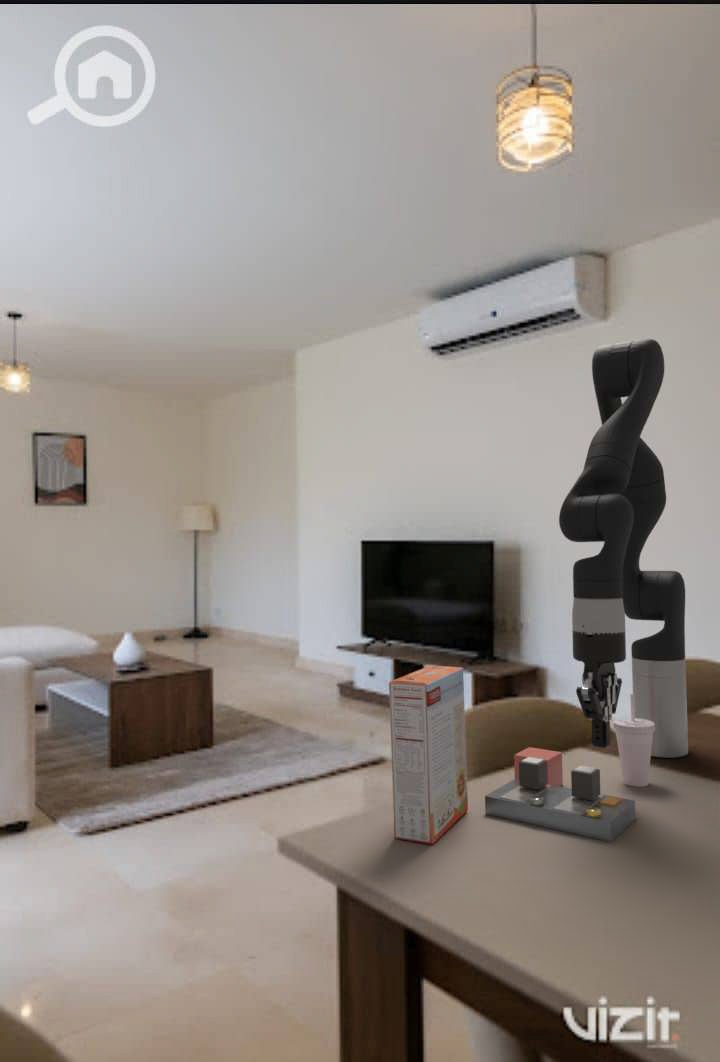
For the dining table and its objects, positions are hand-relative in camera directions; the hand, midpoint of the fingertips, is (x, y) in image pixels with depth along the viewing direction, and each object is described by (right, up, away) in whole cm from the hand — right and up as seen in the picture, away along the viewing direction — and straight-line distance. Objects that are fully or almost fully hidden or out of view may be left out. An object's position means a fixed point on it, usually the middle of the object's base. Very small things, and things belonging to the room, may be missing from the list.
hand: (601, 745), depth 110 cm
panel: (-8, -8, -5) cm, 12 cm away
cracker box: (-26, -9, -8) cm, 28 cm away
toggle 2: (-4, -6, -5) cm, 8 cm away
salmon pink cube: (-7, -9, +8) cm, 14 cm away
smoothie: (+8, -9, +9) cm, 15 cm away
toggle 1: (-10, -6, 0) cm, 12 cm away
